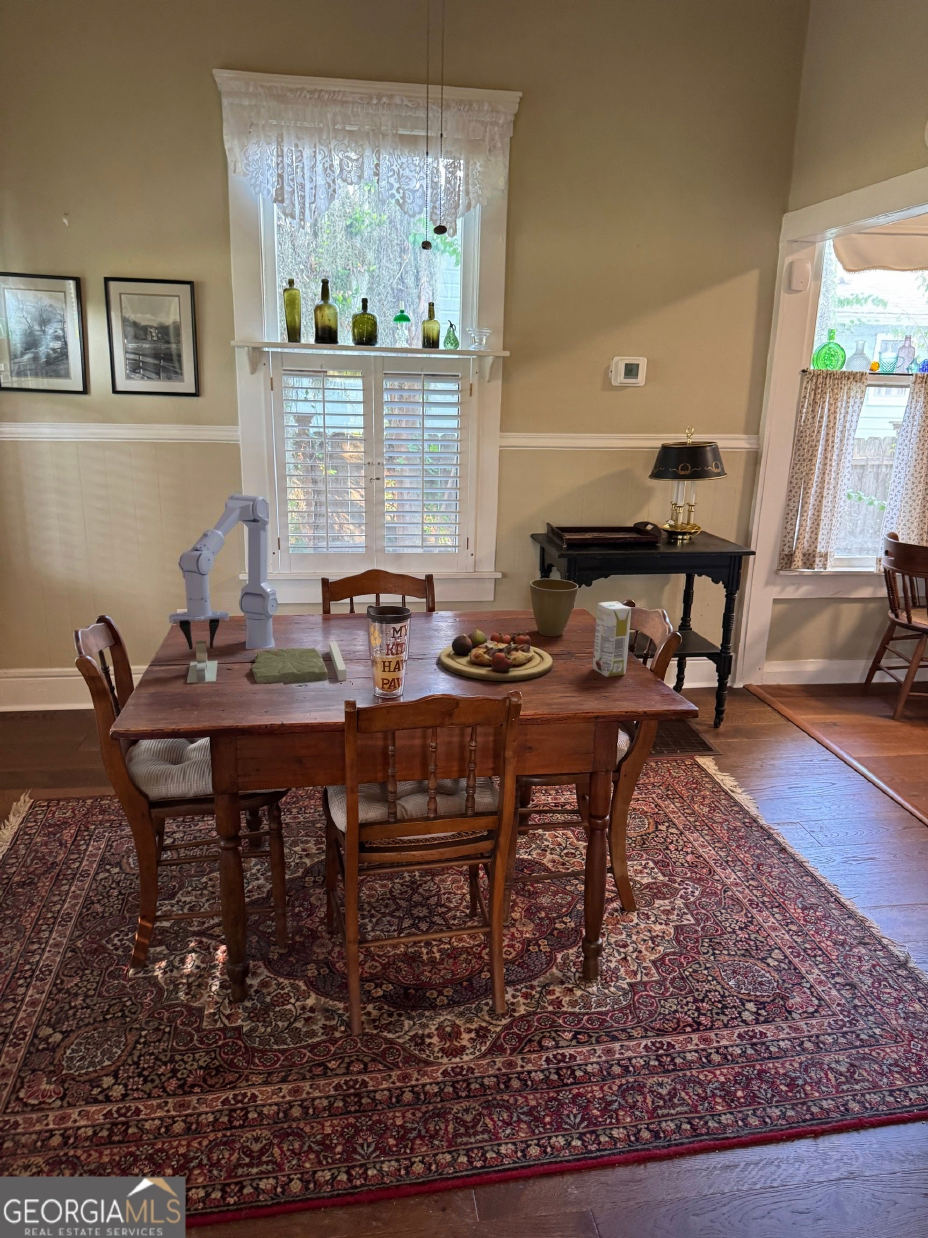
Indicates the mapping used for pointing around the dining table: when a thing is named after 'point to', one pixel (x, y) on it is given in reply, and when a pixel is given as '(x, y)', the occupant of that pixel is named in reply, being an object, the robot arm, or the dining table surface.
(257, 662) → the decorative tile
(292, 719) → the dining table surface
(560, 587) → the plant pot
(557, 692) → the dining table surface
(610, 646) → the juice carton
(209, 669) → the mat
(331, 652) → the rail
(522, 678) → the wooden plate with food
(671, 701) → the dining table surface
